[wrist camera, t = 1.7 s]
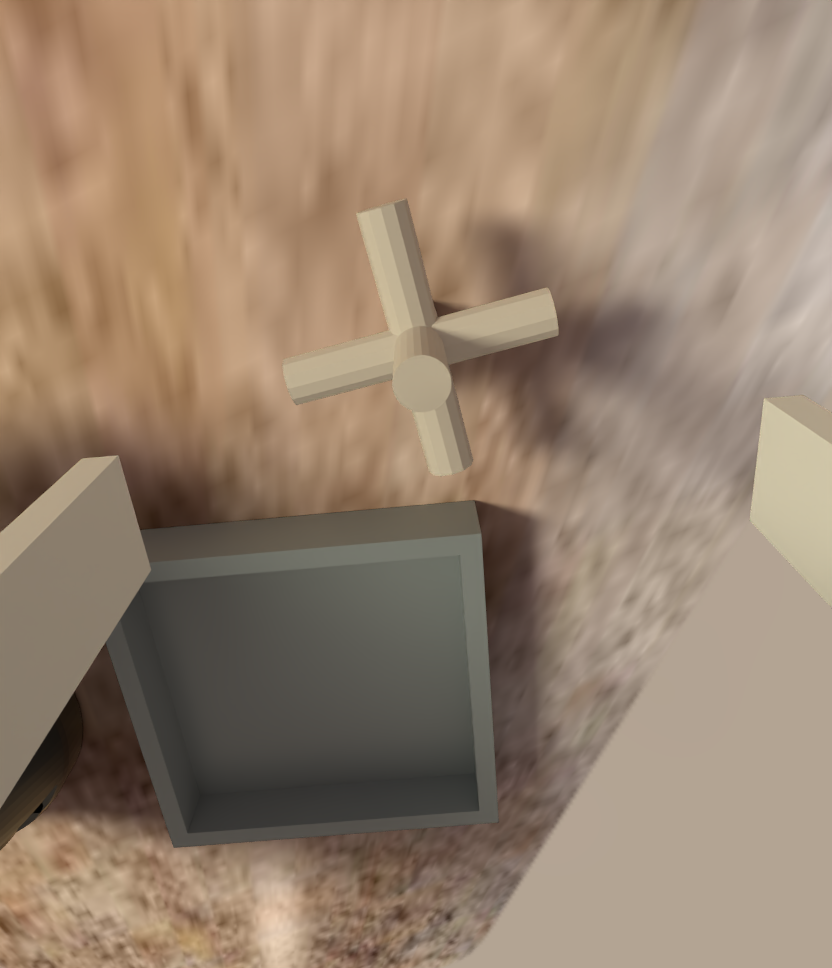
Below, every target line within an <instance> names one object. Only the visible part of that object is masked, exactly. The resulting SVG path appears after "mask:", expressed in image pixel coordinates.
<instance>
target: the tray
mask: <svg viewBox="0 0 832 968" xmlns="http://www.w3.org/2000/svg"><path fill="white" fill-rule="evenodd" d="M140 532H141V536H142V539H143V543H144V546H145V550H146V553H147V557H148V560H149V564H150V567H151V571H150V573H149V574H148V576H147V578H146V579H145V581H144V582H143V584H142V585H141V587H140V589H139V590H138V592H137V593H136V595H135V597H134V598H133V600H132V601H131V603H130V604H129V606H128V608H127V609H126V611H125V612H124V614H123V615H122V617H121V619H120V620H119V622H118V623H117V625H116V627H115V628H114V630H113V631H112V633H111V634H110V636H109V638H108V639H107V641H106V646H107V649H108V652H109V655H110V658H111V661H112V664H113V667H114V670H115V673H116V676H117V679H118V682H119V685H120V688H121V691H122V694H123V697H124V700H125V703H126V706H127V709H128V712H129V715H130V718H131V721H132V724H133V727H134V730H135V733H136V736H137V739H138V742H139V745H140V748H141V751H142V754H143V757H144V760H145V763H146V766H147V769H148V772H149V775H150V778H151V781H152V784H153V787H154V790H155V793H156V796H157V799H158V802H159V805H160V808H161V811H162V814H163V817H164V820H165V823H166V826H167V829H168V832H169V835H170V838H171V841H172V844H173V847H174V848H177V847H190V846H203V845H216V844H228V843H241V842H254V841H267V840H280V839H293V838H306V837H319V836H331V835H344V834H357V833H370V832H383V831H396V830H409V829H422V828H435V827H447V826H460V825H473V824H486V823H499V818H498V802H497V785H496V769H495V752H494V735H493V719H492V702H491V686H490V669H489V652H488V636H487V619H486V603H485V586H484V569H483V553H482V536H481V530H480V525H479V520H478V515H477V510H476V505H475V501H474V500H473V501H462V502H450V503H439V504H428V505H416V506H405V507H394V508H382V509H371V510H360V511H349V512H337V513H326V514H315V515H303V516H292V517H281V518H269V519H258V520H247V521H236V522H224V523H213V524H202V525H190V526H179V527H168V528H157V529H145V530H140Z"/></svg>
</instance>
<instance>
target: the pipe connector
mask: <svg viewBox="0 0 832 968" xmlns="http://www.w3.org/2000/svg"><path fill="white" fill-rule="evenodd" d="M356 216H357V219H358V223H359V226H360V230H361V233H362V237H363V240H364V244H365V247H366V251H367V254H368V258H369V261H370V265H371V268H372V272H373V275H374V279H375V282H376V286H377V290H378V293H379V297H380V300H381V304H382V307H383V311H384V314H385V318H386V321H387V325H388V328H389V331H385V332H381V333H378V334H374V335H370V336H367V337H363V338H359V339H356V340H352V341H348V342H345V343H341V344H337V345H334V346H330V347H326V348H323V349H319V350H315V351H312V352H308V353H304V354H301V355H297V356H293V357H290V358H286V359H283V365H282V366H283V373H284V378H285V382H286V385H287V389H288V391H289V393H290V396H291V398H292V400H293V401H294V403H295V404H296V405H299V404H303V403H307V402H310V401H314V400H318V399H322V398H326V397H329V396H333V395H337V394H341V393H344V392H348V391H352V390H356V389H359V388H363V387H367V386H371V385H375V384H378V383H382V382H386V381H390V380H393V381H392V386H393V392H394V394H395V396H396V399H397V400H398V401H399V402H400V404H401V405H403V406H404V407H405V408H407V409H409V410H412V413H413V416H414V420H415V424H416V427H417V431H418V434H419V438H420V441H421V445H422V448H423V452H424V455H425V459H426V462H427V466H428V469H429V472H430V473H431V474H432V475H436V476H446V475H453V474H456V473H458V472H461V471H464V470H465V469H466V468H468V467H469V466H471V464H472V462H473V457H472V453H471V449H470V445H469V441H468V437H467V434H466V430H465V426H464V422H463V418H462V414H461V410H460V406H459V402H458V398H457V394H456V390H455V386H454V382H453V378H452V374H451V370H450V367H449V365H450V364H454V363H458V362H461V361H465V360H469V359H473V358H476V357H480V356H484V355H488V354H491V353H495V352H499V351H503V350H507V349H510V348H514V347H518V346H522V345H525V344H529V343H533V342H537V341H540V340H544V339H548V338H552V337H556V336H558V333H559V328H558V321H557V315H556V310H555V306H554V302H553V299H552V296H551V293H550V291H549V289H548V287H547V288H543V289H540V290H536V291H532V292H528V293H525V294H521V295H517V296H514V297H510V298H506V299H503V300H499V301H495V302H492V303H488V304H484V305H481V306H477V307H473V308H470V309H466V310H462V311H459V312H455V313H451V314H448V315H444V316H440V317H438V316H437V312H436V310H435V307H434V303H433V299H432V296H431V292H430V288H429V284H428V280H427V276H426V272H425V268H424V264H423V260H422V256H421V252H420V248H419V244H418V240H417V236H416V232H415V228H414V225H413V221H412V217H411V213H410V209H409V205H408V201H407V199H402V200H398V201H394V202H390V203H386V204H383V205H379V206H376V207H373V208H369V209H366V210H363V211H360V212H358V213H356Z"/></svg>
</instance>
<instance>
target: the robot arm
mask: <svg viewBox="0 0 832 968" xmlns="http://www.w3.org/2000/svg"><path fill="white" fill-rule="evenodd" d="M750 521H751V523H753V525H754V526H755V527H756V528H757V529H758V530H759V531H760V532H761V533H762V534H763V535H764V536H765V537H766V538H767V540H768V541H769V542H770V543H771V544H772V545H773V546H774V547H775V548H776V549H777V550H778V551H779V552H780V553H781V554H782V556H784V558H785V559H787V561H788V562H789V563H790V564H791V565H792V566H793V567H794V568H795V569H796V570H797V572H798V573H799V574H800V575H801V576H802V577H803V578H804V579H805V580H806V581H807V582H808V583H809V584H810V585H811V586H812V587H813V589H814V590H815V591H816V592H817V593H818V594H819V595H820V596H821V597H822V598H823V599H824V600H825V601H826V602H827V604H828V605H829V606H830V607H831V608H832V412H830V411H828V410H827V409H825V408H823V407H822V406H820V405H818V404H817V403H815V402H813V401H812V400H810V399H809V398H807V397H805V396H804V395H798V396H787V397H775V398H764V403H763V411H762V420H761V428H760V437H759V445H758V454H757V463H756V471H755V480H754V488H753V497H752V505H751V514H750ZM150 571H151V567H150V564H149V560H148V557H147V553H146V550H145V546H144V543H143V539H142V536H141V532H140V529H139V525H138V522H137V518H136V515H135V511H134V508H133V504H132V501H131V497H130V494H129V490H128V487H127V483H126V480H125V476H124V473H123V469H122V466H121V462H120V459H119V455H116V456H105V457H93V458H82V459H81V460H80V461H79V462H78V463H76V464H75V465H74V466H73V467H72V468H71V469H70V470H69V471H68V472H67V473H65V474H64V475H63V476H62V477H61V478H60V479H59V480H58V481H57V482H56V483H54V484H53V485H52V486H51V487H50V488H49V489H48V490H47V491H46V492H45V493H43V494H42V495H41V496H40V497H39V498H38V499H37V500H36V501H35V502H33V503H32V504H31V505H30V506H29V507H28V508H27V509H26V510H25V511H24V512H22V513H21V514H20V515H19V516H18V517H17V518H16V519H15V520H14V521H13V522H11V523H10V524H9V525H8V526H7V527H6V528H5V529H4V530H3V531H2V532H0V850H1V849H2V848H3V847H4V846H5V845H6V844H7V843H8V842H9V841H10V839H11V838H12V837H13V836H14V835H15V833H16V832H17V831H19V830H21V829H22V828H24V827H26V826H27V825H28V824H30V823H31V822H32V821H34V820H35V819H36V818H37V817H38V816H39V815H40V814H41V813H42V812H43V811H44V810H45V809H46V808H47V807H48V806H49V805H50V804H51V802H52V801H53V800H54V799H55V797H56V796H57V794H58V793H59V791H60V789H61V787H62V786H63V784H64V782H65V780H66V778H67V777H68V775H69V773H70V771H71V769H72V767H73V766H74V764H75V762H76V760H77V757H78V755H79V752H80V749H81V744H82V736H83V725H82V717H81V713H80V709H79V705H78V702H77V700H76V697H75V695H74V691H75V690H76V688H77V687H78V685H79V683H80V682H81V680H82V679H83V677H84V675H85V674H86V672H87V671H88V669H89V668H90V666H91V664H92V663H93V661H94V660H95V658H96V657H97V655H98V653H99V652H100V650H101V649H102V647H103V645H104V644H105V642H106V641H107V639H108V638H109V636H110V634H111V633H112V631H113V630H114V628H115V627H116V625H117V623H118V622H119V620H120V619H121V617H122V615H123V614H124V612H125V611H126V609H127V608H128V606H129V604H130V603H131V601H132V600H133V598H134V597H135V595H136V593H137V592H138V590H139V589H140V587H141V585H142V584H143V582H144V581H145V579H146V578H147V576H148V574H149V573H150Z"/></svg>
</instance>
